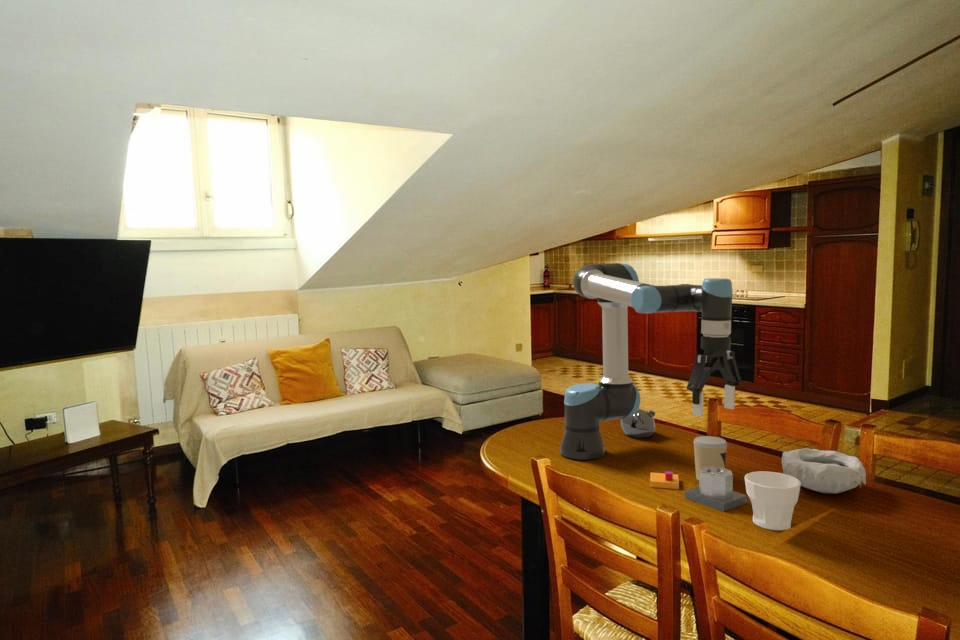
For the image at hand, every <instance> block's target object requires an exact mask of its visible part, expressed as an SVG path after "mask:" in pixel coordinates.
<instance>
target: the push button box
mask: <svg viewBox="0 0 960 640" xmlns="http://www.w3.org/2000/svg"><path fill="white" fill-rule="evenodd" d="M649 477H650V478H649V486H650V487H649V488H657V489H670V490H680V477H679V474H674V472H673V471H665V473H663V472H662V473H661V472H650V474H649Z"/></svg>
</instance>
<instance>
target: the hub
mask: <svg viewBox="0 0 960 640" xmlns="http://www.w3.org/2000/svg"><path fill="white" fill-rule="evenodd" d="M710 472H720V473H721V474H712V473H710ZM733 481H734V473H732V471H731V469H727V468H726V467H725V468H721V467H709V466H706V467H703V468H700V469H699V481H698V486H699V491H700V493H701V495H704V496H707V497H710V498H718V499H726V498H729V497H731V496H733V489H734V488H733V485H734V483H733Z"/></svg>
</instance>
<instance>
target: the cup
mask: <svg viewBox="0 0 960 640" xmlns="http://www.w3.org/2000/svg"><path fill="white" fill-rule="evenodd" d="M743 479H744V484H745V491H746V494H747V497H748V498H749V500H750V502H751V507H752V513H753V514H752V522H753V524H755V525H756V526H758V527H759V528H762V529H766V530H771V531H785V530H789V529H790V528H791V526H792V518H793V514H794V510H795V506H796V505H797V503H798V502H799V496H800V491H801V487H802V486H801V482H800V481H799V480H798V479H797V478H794V477H792V476H790V475H786V474H784V473H783V472H776V471H775V472H774V471H765V470H763V471H762V470H760V471H750V472H749V473H746V474H745V475H744V478H743Z"/></svg>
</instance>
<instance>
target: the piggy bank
mask: <svg viewBox="0 0 960 640" xmlns="http://www.w3.org/2000/svg"><path fill="white" fill-rule="evenodd" d="M655 415H656V412H655V411H654V410H644V409H642V408H639V409H638V411H637V412H636V413H635V415H633V416H632V417H628V418H624V419H620V425H621V429H622V431H623V432H624V434H625V436H629V437H633V438H634V439H636V438H637V439H642V438H643V439H644V438H649V437H650V436H652V435H653V433H655V432H656V423H655V419H654V417H655Z"/></svg>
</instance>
